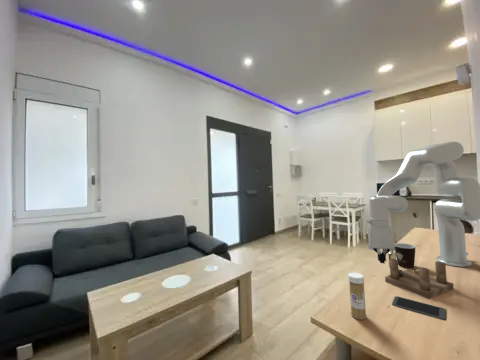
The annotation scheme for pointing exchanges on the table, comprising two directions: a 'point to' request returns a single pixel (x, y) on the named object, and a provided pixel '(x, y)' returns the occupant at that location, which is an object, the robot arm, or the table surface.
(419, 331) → the table surface
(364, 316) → the sprinkles bottle
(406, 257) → the coffee mug
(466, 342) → the table surface
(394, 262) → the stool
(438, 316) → the cell phone
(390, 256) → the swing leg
